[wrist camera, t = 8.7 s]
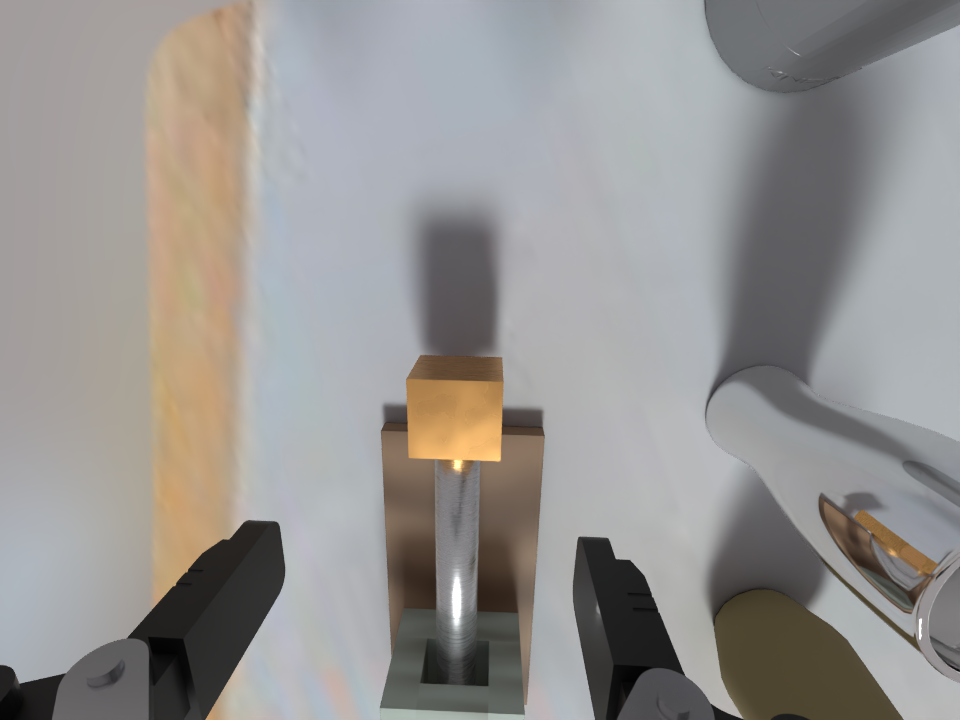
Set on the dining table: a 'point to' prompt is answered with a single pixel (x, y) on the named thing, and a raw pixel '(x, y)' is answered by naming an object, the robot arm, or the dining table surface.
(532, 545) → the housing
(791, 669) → the squeeze bottle
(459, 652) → the shaft
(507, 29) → the dining table surface
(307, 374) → the dining table surface
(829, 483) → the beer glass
